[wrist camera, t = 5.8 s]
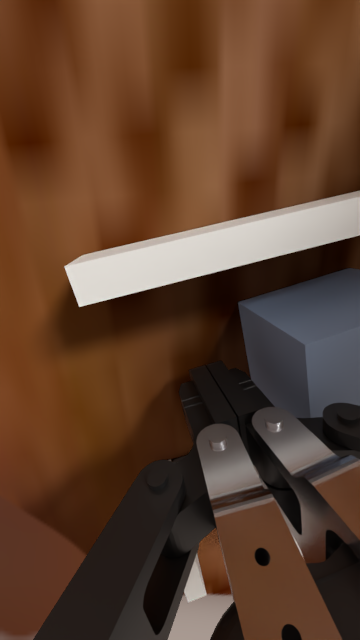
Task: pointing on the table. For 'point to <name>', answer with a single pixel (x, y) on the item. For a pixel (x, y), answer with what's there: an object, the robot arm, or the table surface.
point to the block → (306, 343)
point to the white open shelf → (212, 263)
